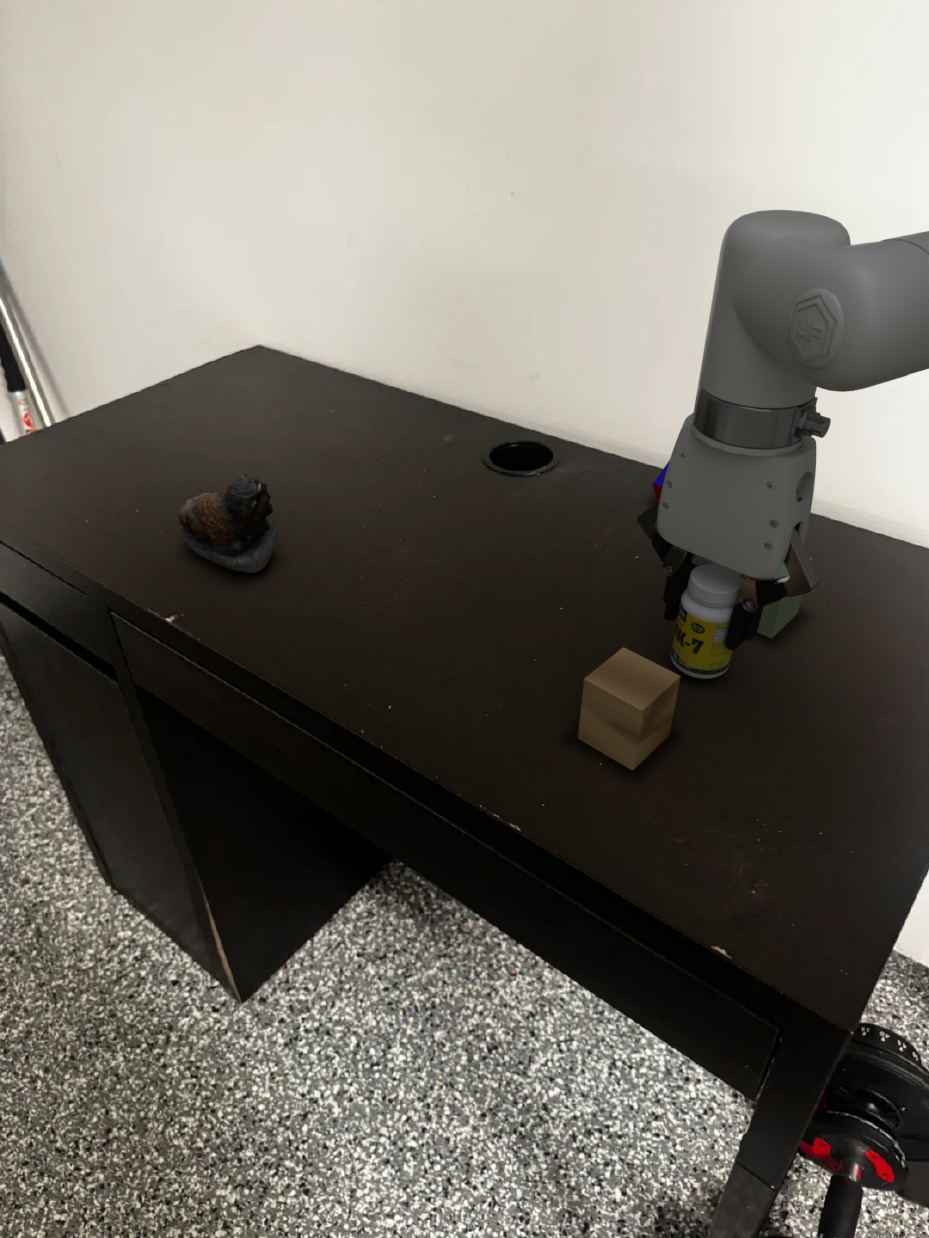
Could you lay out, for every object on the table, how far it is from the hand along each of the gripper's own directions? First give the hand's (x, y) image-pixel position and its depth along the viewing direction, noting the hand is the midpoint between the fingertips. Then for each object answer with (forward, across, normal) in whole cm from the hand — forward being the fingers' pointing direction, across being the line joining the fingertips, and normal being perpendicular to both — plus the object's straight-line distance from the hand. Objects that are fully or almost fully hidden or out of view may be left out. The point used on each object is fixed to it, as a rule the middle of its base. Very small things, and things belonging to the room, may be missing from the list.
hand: (707, 625), depth 71 cm
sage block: (+5, 0, -11) cm, 12 cm away
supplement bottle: (+4, 0, 0) cm, 4 cm away
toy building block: (+5, +16, -23) cm, 29 cm away
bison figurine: (+5, +43, +16) cm, 46 cm away
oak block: (+5, 0, +11) cm, 12 cm away
